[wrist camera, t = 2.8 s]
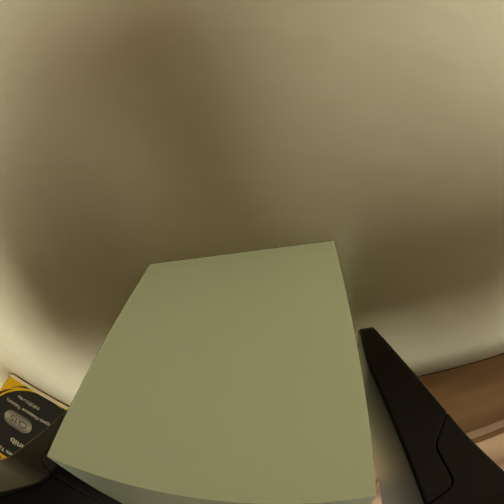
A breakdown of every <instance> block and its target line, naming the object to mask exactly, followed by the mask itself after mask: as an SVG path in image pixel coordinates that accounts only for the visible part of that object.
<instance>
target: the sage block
mask: <svg viewBox="0 0 504 504" xmlns="http://www.w3.org/2000/svg"><path fill="white" fill-rule="evenodd" d="M47 457H49V458H50V459H51V460H53V461H54V462H56V463H57V464H58V465H60V466H61V467H63V468H64V469H66V470H67V471H68V472H70V473H71V474H73V475H75V476H76V477H78V478H79V479H81V480H82V481H84V482H86V483H87V484H89V485H90V486H92V487H94V488H95V489H97V490H99V491H101V492H102V493H104V494H106V495H108V496H109V497H111V498H113V499H115V500H117V501H119V502H121V503H123V504H371V503H372V502H373V500H374V499H375V497H376V483H375V471H374V460H373V451H372V442H371V433H370V425H369V417H368V410H367V403H366V396H365V390H364V383H363V377H362V371H361V365H360V359H359V354H358V348H357V343H356V338H355V332H354V327H353V322H352V317H351V313H350V308H349V303H348V298H347V294H346V289H345V285H344V281H343V276H342V272H341V268H340V264H339V259H338V255H337V251H336V247H335V243H334V241H327V242H319V243H312V244H304V245H296V246H288V247H280V248H272V249H264V250H257V251H249V252H241V253H233V254H225V255H217V256H210V257H202V258H194V259H186V260H178V261H170V262H163V263H155V264H150V265H149V267H148V268H147V270H146V271H145V273H144V275H143V276H142V278H141V279H140V281H139V283H138V284H137V286H136V288H135V289H134V291H133V293H132V294H131V296H130V297H129V299H128V301H127V302H126V304H125V306H124V308H123V309H122V311H121V313H120V314H119V316H118V318H117V319H116V321H115V323H114V325H113V326H112V328H111V330H110V332H109V333H108V335H107V337H106V339H105V340H104V342H103V344H102V346H101V348H100V349H99V351H98V353H97V355H96V357H95V359H94V360H93V362H92V364H91V366H90V368H89V370H88V372H87V374H86V376H85V377H84V379H83V381H82V383H81V385H80V387H79V389H78V391H77V393H76V395H75V397H74V399H73V401H72V403H71V405H70V407H69V409H68V411H67V413H66V415H65V417H64V419H63V422H62V424H61V426H60V428H59V430H58V432H57V434H56V437H55V439H54V441H53V443H52V446H51V448H50V450H49V452H48V455H47Z"/></svg>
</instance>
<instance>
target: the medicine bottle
mask: <svg viewBox="0 0 504 504" xmlns="http://www.w3.org/2000/svg"><path fill="white" fill-rule="evenodd" d="M67 409H69V407H68V406H66V405H64V404H62V403H61V402H59V401H57V400H55V399H53V398H51V397H50V396H48V395H46V394H44V393H43V392H41V391H39V390H38V389H36V388H34V387H33V386H31V385H29V384H28V383H26V382H24V381H23V380H21V379H20V378H18V377H17V376H15V375H10V376H9V377H8V379H7V380H6V382H5V383H4V385H3V387H2V388H1V390H0V460H2V459H5V458H7V457H9V456H11V455H12V454H14V453H15V452H16V451H18V450H19V449H20V448H22V447H23V446H24V445H26V444H27V443H28V442H30V441H31V440H32V439H34V438H35V437H36V436H37V435H39V434H40V433H41V432H42V431H44V430H45V429H46V428H47V427H48V426H50V425H51V424H52V423H53V422H54V421H55V420H56V419H57V418H59V417H60V416H61V415H62V414H64V412H65V411H66V410H67Z"/></svg>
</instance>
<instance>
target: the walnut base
mask: <svg viewBox="0 0 504 504" xmlns="http://www.w3.org/2000/svg"><path fill="white" fill-rule="evenodd" d="M418 378H419V379H420V380H421V382H422V383H423V384H424V385H425V386H426V387H427V389H428V390H429V391H430V392H431V393H432V394H433V396H434V397H435V398H436V399H437V400H438V402H439V403H440V404H441V405H442V406H443V408H444V409H445V410H446V411H447V414H449V415H450V416H451V417H452V418H453V419H454V421H455V422H456V423H457V424H458V425H459V427H460V428H461V429H462V430H463V431H464V432H465V433H466V434H467V436H468V437H469V438H470V439H471V440H472V441H473V442H474V443H475V444H476V445H477V446H478V447H479V448H480V449H481V450H482V451H483V452H484V453H486V454H487V455H488V456H489V457H490V458H491V459H492V460H493V461H494V462H495V463H496V464H497V465H498V466H499V467H500V468H501V469H502V470H503V469H504V354H502V355H499V356H496V357H493V358H489V359H486V360H483V361H480V362H476V363H473V364H469V365H466V366H462V367H458V368H455V369H451V370H447V371H443V372H439V373H435V374H430V375H426V376H421V377H418ZM372 451H373V450H372ZM373 460H374V455H373ZM374 471H375V483H376V497H375V499H374V500H373V502H372V503H371V504H382V501H381V495H380V488H379V482H378V477H377V471H376V466H375V460H374Z"/></svg>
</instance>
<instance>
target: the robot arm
mask: <svg viewBox="0 0 504 504" xmlns="http://www.w3.org/2000/svg"><path fill="white" fill-rule="evenodd" d="M358 354H359V359H360V365H361V371H362V377H363V383H364V390H365V396H366V403H367V410H368V417H369V425H370V433H371V442H372V450H373V455H374V460H375V466H376V471H377V477H378V482H379V488H380V495H381V501H382V504H504V471H503V470H502V469H501V468H500V467H499V466H498V465H497V464H496V463H495V462H494V461H493V460H492V459H491V458H490V457H489V456H488V455H487V454H486V453H484V452H483V451H482V450H481V449H480V448H479V447H478V446H477V445H476V444H475V443H474V442H473V441H472V440H471V439H470V438H469V437H468V436H467V434H466V433H465V432H464V431H463V430H462V429H461V428H460V427H459V425H458V424H457V423H456V422H455V421H454V419H453V418H452V417H451V416H450V415H449V414H447V411H446V410H445V409H444V408H443V406H442V405H441V404H440V403H439V402H438V400H437V399H436V398H435V397H434V396H433V394H432V393H431V392H430V391H429V390H428V389H427V387H426V386H425V385H424V384H423V383H422V382H421V380H420V379H419V378H418V377H417V376H416V375H415V373H414V372H413V371H412V370H411V369H410V368H409V367H408V365H407V364H406V363H405V362H404V361H403V360H402V359H401V357H400V356H399V355H398V354H397V353H396V352H395V351H394V350H393V348H392V347H391V346H390V345H389V344H388V343H387V342H386V341H385V339H384V338H383V337H382V336H381V335H380V334H379V333H378V332H377V331H376V329H375V328H373V327H370V328H363V329H360V330H359V331H358ZM67 411H68V409H67V410H66V411H65V412H64V414H62V415H61V416H60V417H59V418H57V419H56V420H55V421H54V422H53V423H52V424H51V425H50V426H48V427H47V428H46V429H45V430H44V431H42V432H41V433H40V434H39V435H37V436H36V437H35V438H34V439H32V440H31V441H30V442H28V443H27V444H26V445H24V446H23V447H22V448H20V449H19V450H18V451H16V452H15V453H14V454H12V455H11V456H9V457H7V458H5V459H2V460H0V504H123V503H121V502H119V501H117V500H115V499H113V498H111V497H109V496H108V495H106V494H104V493H102V492H101V491H99V490H97V489H95V488H94V487H92V486H90V485H89V484H87V483H86V482H84V481H82V480H81V479H79V478H78V477H76V476H75V475H73V474H71V473H70V472H68V471H67V470H66V469H64V468H63V467H61V466H60V465H58V464H57V463H56V462H54V461H53V460H51V459H50V458H49V457H47V455H48V452H49V450H50V448H51V446H52V443H53V441H54V439H55V437H56V434H57V432H58V430H59V428H60V426H61V424H62V422H63V419H64V417H65V415H66V413H67Z"/></svg>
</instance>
